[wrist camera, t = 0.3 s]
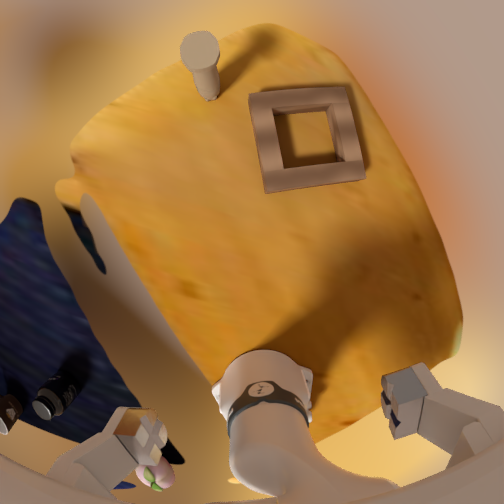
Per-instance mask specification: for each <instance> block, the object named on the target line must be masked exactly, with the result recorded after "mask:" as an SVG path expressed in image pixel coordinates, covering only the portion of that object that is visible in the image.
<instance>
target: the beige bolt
mask: <svg viewBox="0 0 504 504" xmlns="http://www.w3.org/2000/svg"><path fill="white" fill-rule="evenodd" d="M180 54H181V59H182V62H183V64H184V65H185V66H186V67H187V69H188V70H189V71H190V72H192V73H193V78H194V83H195V85H196V88H197V90H198V92H199V93H200V95H201V96H202V97H204V98H205V100H206V101H210V100H216V99H217V95H218V94H219V93H220V78H219V73H218V70H217V67H216V65H217V63H218V60H219V57H220V50H219V45H218V41H217V39H216V38H215V37H214V36H213V35H212V34H211V33H210V32H208V31H197V32H193V33H190V34H188V35H187V36H185V37H184V39H183V42H182V44H181V47H180Z"/></svg>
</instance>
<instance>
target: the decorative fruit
mask: <svg viewBox="0 0 504 504" xmlns="http://www.w3.org/2000/svg"><path fill="white" fill-rule="evenodd" d="M138 465H139V466H138V467H137V468H135V470H136V474H137V476H138V477H139V479H140V480H141V481H142V482H143V483H144V484H146V485H148V486H150V487H151V488H152V489H154V490H156V491H163V490H162V489H163V488H167V487H169V486H171V485H172V484H173V483H174V481H175V474H174V471H173V469H172V466H171V465H170V464H169V463H168V461H167V460H166V459H165V458H164V457H162V456H161V458H160V460H159V463H158V466H151V465H140V464H138Z"/></svg>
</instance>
